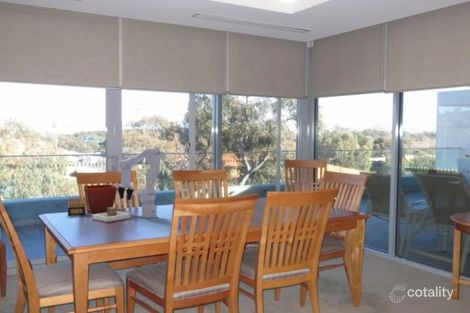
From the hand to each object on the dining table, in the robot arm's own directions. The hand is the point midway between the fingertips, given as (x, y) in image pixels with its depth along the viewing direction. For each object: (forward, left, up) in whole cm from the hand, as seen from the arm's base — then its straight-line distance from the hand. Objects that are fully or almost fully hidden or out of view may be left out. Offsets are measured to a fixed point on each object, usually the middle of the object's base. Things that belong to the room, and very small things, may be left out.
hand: (125, 199), depth 301 cm
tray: (-10, +18, -9) cm, 23 cm away
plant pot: (+20, +6, -10) cm, 23 cm away
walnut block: (-10, +18, -9) cm, 22 cm away
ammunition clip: (+18, +25, -10) cm, 32 cm away
